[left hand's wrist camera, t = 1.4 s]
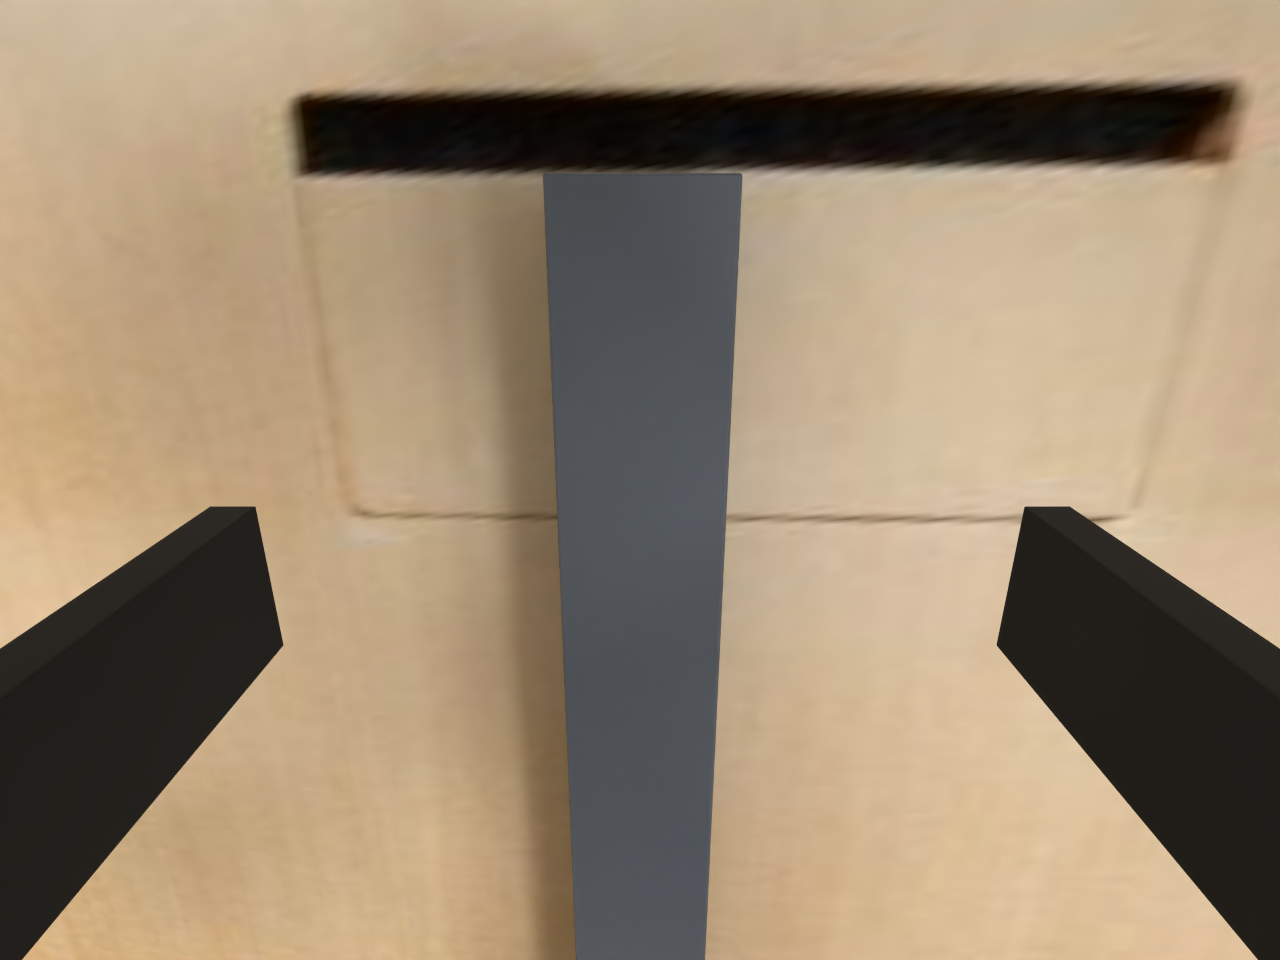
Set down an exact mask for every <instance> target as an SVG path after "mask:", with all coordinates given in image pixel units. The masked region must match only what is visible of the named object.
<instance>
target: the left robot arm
mask: <svg viewBox="0 0 1280 960" xmlns="http://www.w3.org/2000/svg"><path fill="white" fill-rule="evenodd" d="M282 646H283V641H282V636H281V631H280V626H279V621H278V616H277V611H276V606H275V601H274V597H273V592H272V587H271V582H270V577H269V572H268V567H267V562H266V557H265V552H264V547H263V542H262V537H261V532H260V527H259V522H258V517H257V513H256V508H255V507H209V508H208V509H206V510H205V511H203V512H202V513H200V514H199V515H197V516H196V517H194V518H193V519H191V520H190V521H188V522H187V523H186V524H184V525H183V526H181V527H180V528H178V529H177V530H175V531H174V532H172V533H171V534H169V535H168V536H166V537H165V538H163V539H162V540H160V541H159V542H157V543H156V544H154V545H153V546H151V547H150V548H149V549H147V550H146V551H144V552H143V553H141V554H140V555H138V556H137V557H135V558H134V559H132V560H131V561H129V562H128V563H126V564H125V565H123V566H122V567H120V568H119V569H117V570H116V571H115V572H113V573H112V574H110V575H109V576H107V577H106V578H104V579H103V580H101V581H100V582H98V583H97V584H95V585H94V586H92V587H91V588H89V589H88V590H86V591H85V592H83V593H82V594H80V595H79V596H78V597H76V598H75V599H73V600H72V601H70V602H69V603H67V604H66V605H64V606H63V607H61V608H60V609H58V610H57V611H55V612H54V613H52V614H51V615H49V616H48V617H46V618H45V619H44V620H42V621H41V622H39V623H38V624H36V625H35V626H33V627H32V628H30V629H29V630H27V631H26V632H24V633H23V634H21V635H20V636H18V637H17V638H15V639H14V640H12V641H11V642H9V643H8V644H7V645H5V646H4V647H2V648H1V649H0V960H22V959H23V958H24V957H25V955H26V954H27V953H28V952H29V951H30V949H31V948H32V947H33V946H34V945H35V943H36V942H37V941H38V940H39V939H40V937H41V936H42V935H43V934H44V933H45V931H46V930H47V929H48V928H49V927H50V925H51V924H52V923H53V922H54V921H55V919H56V918H57V917H58V916H59V915H60V913H61V912H62V911H63V910H64V908H65V907H66V906H67V905H68V904H69V902H70V901H71V900H72V899H73V898H74V896H75V895H76V894H77V893H78V892H79V890H80V889H81V888H82V887H83V886H84V884H85V883H86V882H87V881H88V880H89V878H90V877H91V876H92V875H93V874H94V872H95V871H96V870H97V869H98V868H99V866H100V865H101V864H102V863H103V862H104V860H105V859H106V858H107V857H108V856H109V854H110V853H111V852H112V851H113V850H114V848H115V847H116V846H117V845H118V844H119V842H120V841H121V840H122V839H123V838H124V836H125V835H126V834H127V833H128V832H129V830H130V829H131V828H132V827H133V826H134V824H135V823H136V822H137V821H138V819H139V818H140V817H141V816H142V815H143V813H144V812H145V811H146V810H147V809H148V807H149V806H150V805H151V804H152V803H153V801H154V800H155V799H156V798H157V797H158V795H159V794H160V793H161V792H162V791H163V789H164V788H165V787H166V786H167V785H168V783H169V782H170V781H171V780H172V779H173V777H174V776H175V775H176V774H177V773H178V771H179V770H180V769H181V768H182V767H183V765H184V764H185V763H186V762H187V761H188V759H189V758H190V757H191V756H192V755H193V753H194V752H195V751H196V750H197V749H198V747H199V746H200V745H201V744H202V743H203V741H204V740H205V739H206V738H207V736H208V735H209V734H210V733H211V732H212V730H213V729H214V728H215V727H216V726H217V724H218V723H219V722H220V721H221V720H222V718H223V717H224V716H225V715H226V714H227V712H228V711H229V710H230V709H231V708H232V706H233V705H234V704H235V703H236V702H237V700H238V699H239V698H240V697H241V696H242V694H243V693H244V692H245V691H246V690H247V688H248V687H249V686H250V685H251V684H252V682H253V681H254V680H255V679H256V678H257V676H258V675H259V674H260V673H261V672H262V670H263V669H264V668H265V667H266V666H267V664H268V663H269V662H270V661H271V660H272V658H273V657H274V656H275V655H276V654H277V652H278V651H279V650H280V649H281V647H282ZM997 646H998V647H999V649H1000V650H1001V651H1002V652H1003V654H1004V655H1005V656H1006V657H1007V658H1008V660H1009V661H1010V662H1011V663H1012V664H1013V666H1014V667H1015V668H1016V669H1017V670H1018V672H1019V673H1020V674H1021V675H1022V676H1023V678H1024V679H1025V680H1026V681H1027V682H1028V684H1029V685H1030V686H1031V687H1032V688H1033V690H1034V691H1035V692H1036V693H1037V694H1038V696H1039V697H1040V698H1041V699H1042V700H1043V702H1044V703H1045V704H1046V705H1047V706H1048V708H1049V709H1050V710H1051V711H1052V712H1053V714H1054V715H1055V716H1056V717H1057V718H1058V720H1059V721H1060V722H1061V723H1062V724H1063V726H1064V727H1065V728H1066V729H1067V730H1068V732H1069V733H1070V734H1071V735H1072V736H1073V738H1074V739H1075V740H1076V741H1077V743H1078V744H1079V745H1080V746H1081V747H1082V749H1083V750H1084V751H1085V752H1086V753H1087V755H1088V756H1089V757H1090V758H1091V759H1092V761H1093V762H1094V763H1095V764H1096V765H1097V767H1098V768H1099V769H1100V770H1101V771H1102V773H1103V774H1104V775H1105V776H1106V777H1107V779H1108V780H1109V781H1110V782H1111V783H1112V785H1113V786H1114V787H1115V788H1116V789H1117V791H1118V792H1119V793H1120V794H1121V795H1122V797H1123V798H1124V799H1125V800H1126V801H1127V803H1128V804H1129V805H1130V806H1131V807H1132V809H1133V810H1134V811H1135V812H1136V813H1137V815H1138V816H1139V817H1140V818H1141V819H1142V821H1143V822H1144V823H1145V824H1146V826H1147V827H1148V828H1149V829H1150V830H1151V832H1152V833H1153V834H1154V835H1155V836H1156V838H1157V839H1158V840H1159V841H1160V842H1161V844H1162V845H1163V846H1164V847H1165V848H1166V850H1167V851H1168V852H1169V853H1170V854H1171V856H1172V857H1173V858H1174V859H1175V860H1176V862H1177V863H1178V864H1179V865H1180V866H1181V868H1182V869H1183V870H1184V871H1185V872H1186V874H1187V875H1188V876H1189V877H1190V878H1191V880H1192V881H1193V882H1194V883H1195V884H1196V886H1197V887H1198V888H1199V889H1200V890H1201V892H1202V893H1203V894H1204V895H1205V896H1206V898H1207V899H1208V900H1209V901H1210V902H1211V904H1212V905H1213V906H1214V907H1215V908H1216V910H1217V911H1218V912H1219V913H1220V915H1221V916H1222V917H1223V918H1224V919H1225V921H1226V922H1227V923H1228V924H1229V925H1230V927H1231V928H1232V929H1233V930H1234V931H1235V933H1236V934H1237V935H1238V936H1239V937H1240V939H1241V940H1242V941H1243V942H1244V943H1245V945H1246V946H1247V947H1248V948H1249V949H1250V951H1251V952H1252V953H1253V954H1254V955H1255V957H1256V958H1257V959H1258V960H1280V649H1279V648H1278V647H1276V646H1275V645H1273V644H1272V643H1271V642H1269V641H1268V640H1266V639H1265V638H1263V637H1262V636H1260V635H1259V634H1257V633H1256V632H1254V631H1253V630H1251V629H1250V628H1248V627H1247V626H1245V625H1244V624H1242V623H1241V622H1239V621H1238V620H1236V619H1235V618H1234V617H1232V616H1231V615H1229V614H1228V613H1226V612H1225V611H1223V610H1222V609H1220V608H1219V607H1217V606H1216V605H1214V604H1213V603H1211V602H1210V601H1208V600H1207V599H1205V598H1204V597H1202V596H1201V595H1200V594H1198V593H1197V592H1195V591H1194V590H1192V589H1191V588H1189V587H1188V586H1186V585H1185V584H1183V583H1182V582H1180V581H1179V580H1177V579H1176V578H1174V577H1173V576H1171V575H1170V574H1168V573H1167V572H1165V571H1164V570H1163V569H1161V568H1160V567H1158V566H1157V565H1155V564H1154V563H1152V562H1151V561H1149V560H1148V559H1146V558H1145V557H1143V556H1142V555H1140V554H1139V553H1137V552H1136V551H1134V550H1133V549H1131V548H1130V547H1129V546H1127V545H1126V544H1124V543H1123V542H1121V541H1120V540H1118V539H1117V538H1115V537H1114V536H1112V535H1111V534H1109V533H1108V532H1106V531H1105V530H1103V529H1102V528H1100V527H1099V526H1097V525H1096V524H1094V523H1093V522H1092V521H1090V520H1089V519H1087V518H1086V517H1084V516H1083V515H1081V514H1080V513H1078V512H1077V511H1075V510H1074V509H1072V508H1071V507H1025V508H1024V513H1023V517H1022V522H1021V527H1020V532H1019V537H1018V542H1017V547H1016V552H1015V557H1014V562H1013V567H1012V572H1011V577H1010V582H1009V587H1008V592H1007V597H1006V601H1005V606H1004V611H1003V616H1002V621H1001V626H1000V631H999V636H998V641H997Z"/></svg>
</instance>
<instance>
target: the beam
mask: <svg viewBox="0 0 1280 960" xmlns="http://www.w3.org/2000/svg"><path fill="white" fill-rule="evenodd" d="M543 185H544V209H545V232H546V256H547V280H548V303H549V327H550V351H551V375H552V398H553V422H554V446H555V470H556V493H557V517H558V541H559V565H560V588H561V612H562V636H563V660H564V683H565V707H566V731H567V755H568V778H569V802H570V826H571V850H572V873H573V897H574V921H575V944H576V960H705V947H706V927H707V906H708V885H709V864H710V843H711V822H712V801H713V780H714V759H715V738H716V717H717V696H718V675H719V654H720V633H721V613H722V592H723V571H724V550H725V529H726V508H727V487H728V466H729V445H730V424H731V403H732V382H733V361H734V340H735V319H736V299H737V278H738V257H739V236H740V215H741V194H742V174H740V173H545V174H544V175H543Z"/></svg>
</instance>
